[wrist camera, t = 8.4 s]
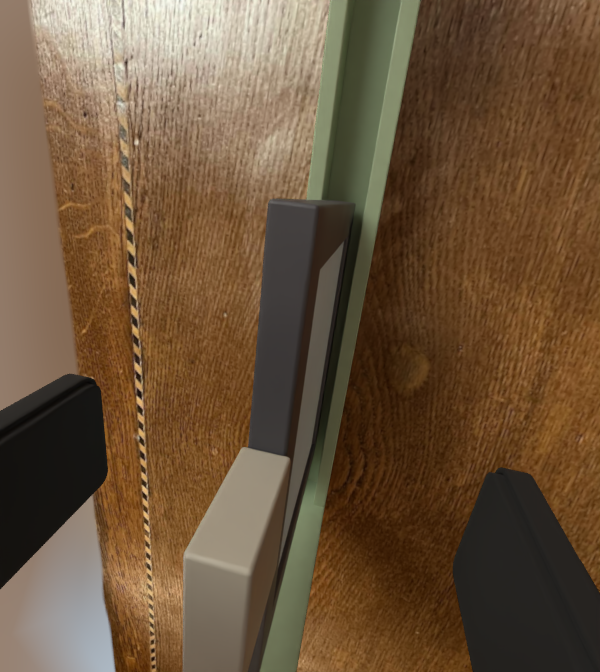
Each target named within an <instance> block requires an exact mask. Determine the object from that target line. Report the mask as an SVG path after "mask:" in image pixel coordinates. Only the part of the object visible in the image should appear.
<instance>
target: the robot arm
mask: <svg viewBox="0 0 600 672" xmlns="http://www.w3.org/2000/svg"><path fill="white" fill-rule="evenodd" d="M107 473H108V466H107V455H106V444H105V432H104V421H103V410H102V399H101V390H100V388H99V386H97V385H96V382H95V380H94V379H92V378H89V377H84V376H79V375H74V374H67V375H64V376H62V377H61V378H59V379H57V380H55V381H53V382H52V383H50V384H48V385H46V386H44V387H42V388H41V389H39V390H37V391H35V392H33V393H32V394H30V395H29V396H26V397H25V398H23V399H21V400H19V401H17V402H15V403H14V404H12V405H10V406H8V407H6V408H5V409H3V410H1V411H0V589H1V588H2V587H3V586H4V585H5V584H6V583H7V582H8V581H9V580H10V579H11V578H12V577H13V576H14V575H15V573H17V571H19V569H20V568H21V567H22V566H23V565H24V564H25V563H26V562H27V561H28V560H29V559H30V558H31V557H32V556H33V555H34V554H35V553H36V552H37V551H38V550H39V549H40V548H41V546H43V545H44V544H45V543H46V542H47V541H48V540H49V538H51V537H52V536H53V534H54V533H55V532H56V531H57V530H58V529H59V528H60V527H61V526H62V525H63V524H64V523H65V522H66V521H67V520H68V519H69V518H70V517H71V516H72V515H73V514H74V513H75V512H76V511H77V510H78V509H79V508H80V507H81V506H82V505H83V504H84V503H85V502H86V500H87V499H88V498H89V497H90V496H91V495H92V494H93V493H94V492H95V491H96V490H97V489H98V488H99V487H100V486H101V485H102V484H103V482H104V481H105V479H106V476H107ZM453 577H454V582H455V587H456V592H457V597H458V602H459V607H460V612H461V616H462V621H463V626H464V631H465V636H466V641H467V646H468V651H469V655H470V660H471V665H472V670H473V672H600V593H599V591H598V589H597V588H596V586H595V584H594V582H593V581H592V579H591V577H590V575H589V574H588V572H587V570H586V568H585V567H584V565H583V563H582V562H581V560H580V559H579V558H578V556H577V554H576V552H575V551H574V549H573V547H572V545H571V543H570V542H569V540H568V538H567V536H566V535H565V533H564V531H563V529H562V528H561V526H560V524H559V522H558V521H557V519H556V517H555V515H554V514H553V512H552V510H551V508H550V506H549V505H548V503H547V501H546V499H545V498H544V496H543V494H542V492H541V491H540V489H539V487H538V485H537V484H536V482H535V480H534V478H533V477H532V476H531V475H530V474H528V473H524V472H519V471H515V470H510V469H506V468H498V469H497V470H496V472H495V473H492V472H489V473H488V474H487V475H486V477H485V480H484V482H483V485H482V488H481V490H480V493H479V495H478V498H477V501H476V503H475V506H474V508H473V511H472V514H471V516H470V519H469V521H468V524H467V527H466V529H465V532H464V534H463V537H462V539H461V542H460V545H459V547H458V550H457V552H456V555H455V558H454V562H453Z"/></svg>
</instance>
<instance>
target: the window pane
mask: <svg viewBox="0 0 600 672" xmlns="http://www.w3.org/2000/svg"><path fill="white" fill-rule="evenodd" d="M355 206H356V204H355V203H352V202H344V201H333V200H301V199H271V200H270V201H269V203H268V212H267V224H266V236H265V248H264V260H263V276H262V288H261V300H260V312H259V324H258V336H257V348H256V360H255V372H254V384H253V396H252V408H251V420H250V432H249V444H248V448H247V447H243V448H242V449H241V450H240V452H239V454H238V456H237V457H236V459H235V461H234V463H233V465H232V467H231V468H230V470H229V472H228V474H227V476H226V478H225V479H224V481H223V483H222V485H221V487H220V488H219V490H218V492H217V494H216V496H215V498H214V499H213V501H212V503H211V505H210V507H209V508H208V510H207V512H206V514H205V516H204V518H203V519H202V521H201V523H200V525H199V527H198V529H197V530H196V532H195V534H194V536H193V538H192V539H191V541H190V543H189V545H188V547H187V549H186V550H185V552H184V557H183V672H260V669H261V665H262V661H263V657H264V653H265V649H266V645H267V641H268V637H269V633H270V629H271V625H272V621H273V617H274V612H275V608H276V604H277V600H278V596H279V592H280V588H281V584H282V580H283V576H284V572H285V568H286V564H287V560H288V556H289V552H290V548H291V544H292V540H293V536H294V532H295V528H296V524H297V520H298V516H299V512H300V508H301V504H302V500H303V496H304V492H305V488H306V484H307V480H308V476H309V472H310V468H311V464H312V460H313V456H314V452H315V448H316V442H317V436H318V430H319V424H320V418H321V412H322V406H323V400H324V393H325V387H326V381H327V375H328V369H329V363H330V357H331V351H332V345H333V339H334V333H335V327H336V321H337V315H338V309H339V303H340V297H341V291H342V285H343V279H344V273H345V267H346V260H347V254H348V248H349V242H350V236H351V230H352V224H353V218H354V212H355Z"/></svg>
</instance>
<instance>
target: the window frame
mask: <svg viewBox="0 0 600 672" xmlns="http://www.w3.org/2000/svg"><path fill="white" fill-rule="evenodd" d="M420 3H421V0H330V5H329V14H328V22H327V30H326V39H325V47H324V56H323V64H322V73H321V81H320V89H319V98H318V106H317V115H316V123H315V132H314V140H313V149H312V157H311V165H310V174H309V182H308V191H307V199H306V200H333V201H344V202H352V203H355V204H356V206H355V212H354V218H353V224H352V230H351V236H350V242H349V248H348V254H347V260H346V267H345V273H344V279H343V285H342V291H341V297H340V303H339V309H338V315H337V321H336V327H335V333H334V339H333V345H332V351H331V357H330V363H329V369H328V375H327V381H326V387H325V393H324V400H323V406H322V412H321V418H320V424H319V430H318V436H317V442H316V448H315V452H314V456H313V460H312V464H311V468H310V472H309V476H308V480H307V484H306V488H305V492H304V496H303V500H302V504H301V508H300V512H299V516H298V520H297V524H296V528H295V532H294V536H293V540H292V544H291V548H290V552H289V556H288V560H287V564H286V568H285V572H284V576H283V580H282V584H281V588H280V592H279V596H278V600H277V604H276V608H275V612H274V617H273V621H272V625H271V629H270V633H269V637H268V641H267V645H266V649H265V653H264V657H263V661H262V665H261V669H260V672H297V666H298V660H299V654H300V648H301V642H302V636H303V631H304V625H305V619H306V613H307V607H308V601H309V596H310V590H311V584H312V578H313V572H314V566H315V560H316V555H317V549H318V543H319V537H320V531H321V525H322V520H323V514H324V508H325V503H326V497H327V492H328V487H329V482H330V476H331V471H332V466H333V461H334V455H335V450H336V445H337V439H338V434H339V429H340V424H341V418H342V413H343V408H344V403H345V397H346V392H347V387H348V382H349V376H350V371H351V366H352V361H353V355H354V350H355V345H356V340H357V334H358V329H359V324H360V319H361V313H362V308H363V303H364V298H365V292H366V287H367V282H368V277H369V271H370V266H371V261H372V256H373V250H374V245H375V240H376V234H377V229H378V224H379V219H380V213H381V208H382V203H383V198H384V192H385V187H386V182H387V177H388V171H389V166H390V161H391V156H392V150H393V145H394V140H395V135H396V129H397V124H398V119H399V114H400V108H401V103H402V98H403V93H404V87H405V82H406V77H407V72H408V66H409V61H410V56H411V51H412V45H413V40H414V35H415V29H416V24H417V19H418V14H419V8H420Z"/></svg>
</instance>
